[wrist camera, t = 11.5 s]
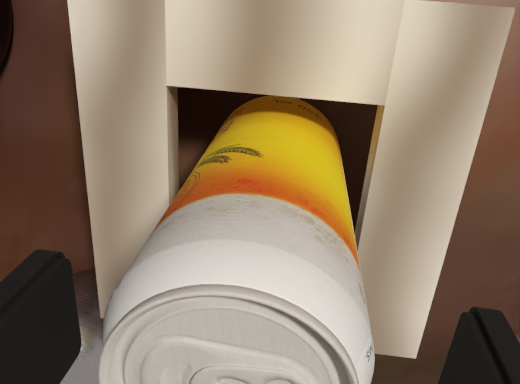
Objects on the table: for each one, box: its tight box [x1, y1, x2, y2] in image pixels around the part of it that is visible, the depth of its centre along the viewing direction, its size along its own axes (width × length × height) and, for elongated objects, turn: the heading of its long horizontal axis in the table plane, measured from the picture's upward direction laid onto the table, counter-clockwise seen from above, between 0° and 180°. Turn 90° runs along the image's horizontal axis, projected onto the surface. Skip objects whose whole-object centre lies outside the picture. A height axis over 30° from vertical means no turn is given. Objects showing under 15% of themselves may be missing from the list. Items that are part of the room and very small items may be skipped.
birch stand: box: [67, 0, 515, 359], centre depth 20 cm, size 15×15×5 cm
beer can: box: [98, 95, 375, 384], centre depth 16 cm, size 6×6×15 cm
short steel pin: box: [60, 269, 103, 384], centre depth 25 cm, size 5×5×6 cm
